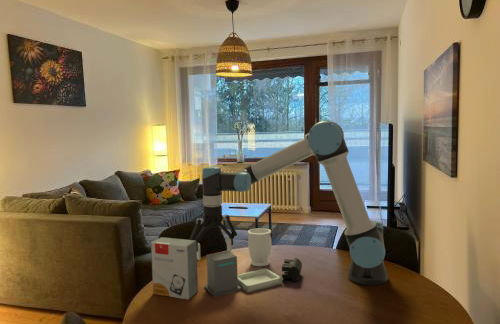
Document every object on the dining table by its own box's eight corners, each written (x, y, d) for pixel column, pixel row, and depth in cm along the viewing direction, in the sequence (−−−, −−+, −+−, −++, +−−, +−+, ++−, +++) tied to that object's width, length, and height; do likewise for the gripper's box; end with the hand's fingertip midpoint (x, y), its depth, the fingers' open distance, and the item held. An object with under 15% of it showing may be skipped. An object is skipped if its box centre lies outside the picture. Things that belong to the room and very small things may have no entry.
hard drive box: (152, 294, 139) (149, 242, 138) (163, 286, 147) (161, 236, 145) (189, 300, 134) (186, 245, 132) (199, 291, 141) (197, 239, 140)
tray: (281, 283, 146) (281, 277, 145) (247, 292, 139) (247, 286, 138) (266, 273, 156) (266, 268, 156) (233, 281, 149) (233, 275, 149)
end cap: (300, 283, 146) (299, 266, 145) (282, 282, 147) (281, 265, 147) (302, 273, 156) (301, 257, 155) (285, 272, 157) (284, 257, 157)
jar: (257, 258, 176) (256, 226, 175) (276, 262, 170) (275, 229, 169) (244, 265, 167) (243, 232, 166) (263, 269, 161) (262, 235, 160)
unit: (241, 290, 141) (240, 256, 140) (214, 297, 136) (213, 262, 135) (230, 281, 150) (229, 249, 149) (204, 287, 145) (203, 254, 143)
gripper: (236, 200, 161) (237, 248, 163) (179, 207, 149) (181, 258, 151) (244, 203, 154) (245, 253, 156) (185, 210, 143) (187, 264, 144)
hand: (214, 256), depth 153 cm, fingers open, 13 cm apart
